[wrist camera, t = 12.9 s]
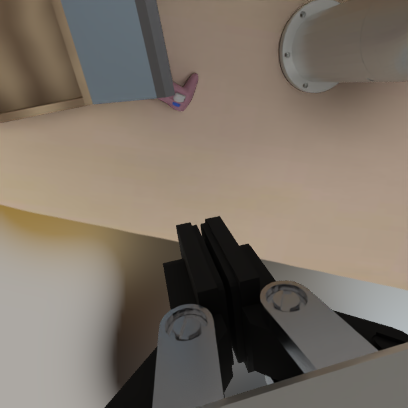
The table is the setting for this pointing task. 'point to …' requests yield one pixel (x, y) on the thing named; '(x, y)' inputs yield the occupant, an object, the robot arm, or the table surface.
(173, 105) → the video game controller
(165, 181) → the table surface
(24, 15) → the wooden box
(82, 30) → the lid flap
